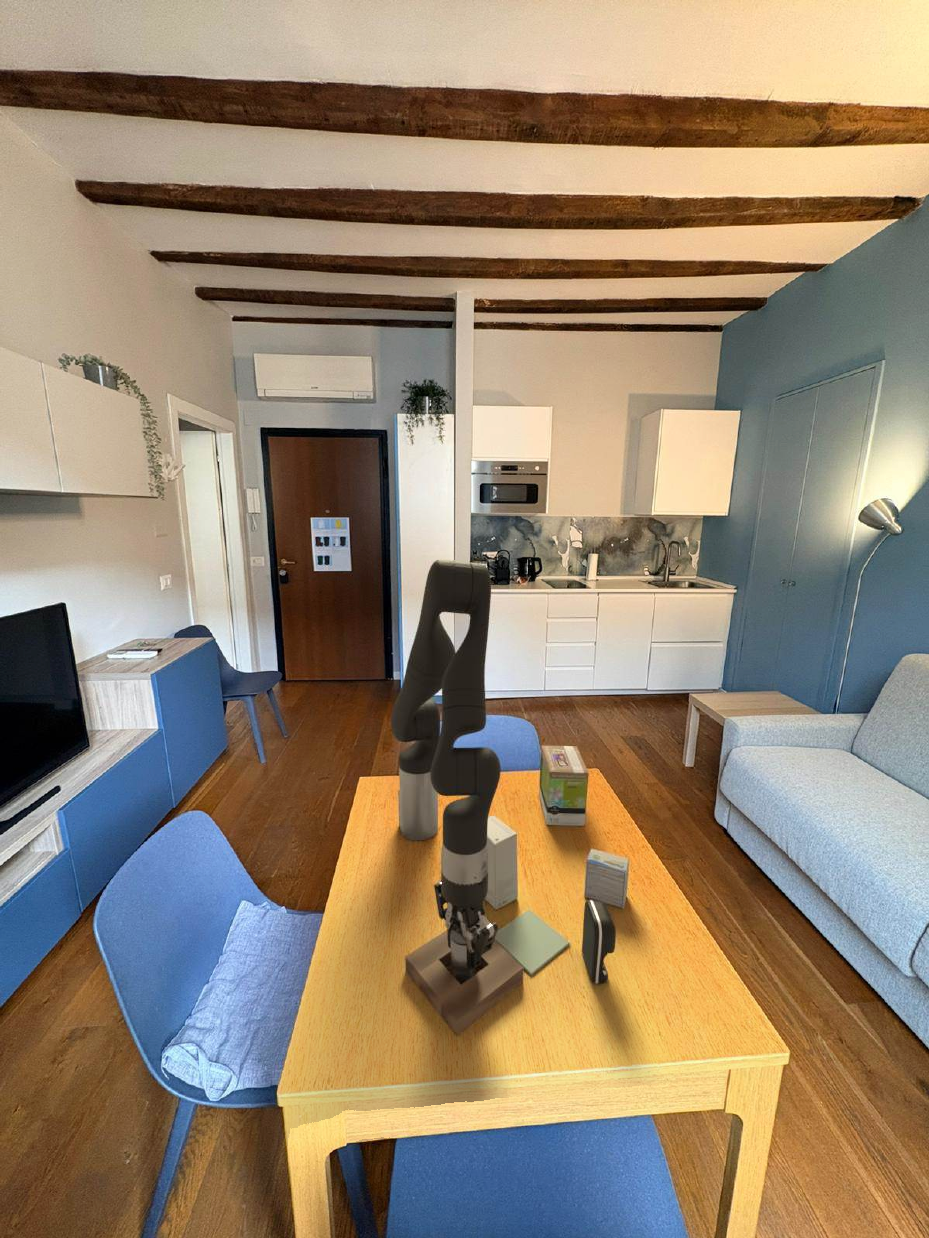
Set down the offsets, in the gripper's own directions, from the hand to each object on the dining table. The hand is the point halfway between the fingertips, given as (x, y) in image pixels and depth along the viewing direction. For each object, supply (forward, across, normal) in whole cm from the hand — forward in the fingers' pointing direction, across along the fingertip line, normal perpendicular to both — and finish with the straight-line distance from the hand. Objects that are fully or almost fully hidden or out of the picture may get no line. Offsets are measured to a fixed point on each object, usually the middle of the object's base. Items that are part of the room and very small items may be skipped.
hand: (463, 955), depth 84 cm
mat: (+4, +2, +14) cm, 15 cm away
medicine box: (+5, +4, +34) cm, 35 cm away
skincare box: (+5, -11, +17) cm, 21 cm away
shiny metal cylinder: (+4, 0, 0) cm, 4 cm away
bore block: (+4, 0, 0) cm, 4 cm away
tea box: (+5, -22, +51) cm, 56 cm away
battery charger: (+5, +13, +19) cm, 23 cm away
